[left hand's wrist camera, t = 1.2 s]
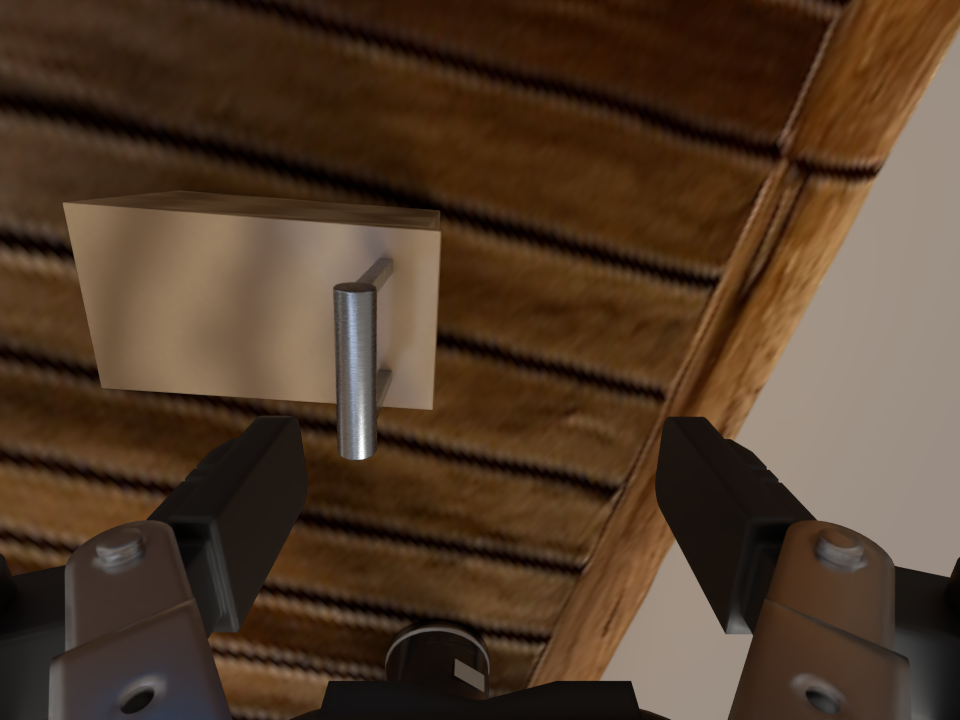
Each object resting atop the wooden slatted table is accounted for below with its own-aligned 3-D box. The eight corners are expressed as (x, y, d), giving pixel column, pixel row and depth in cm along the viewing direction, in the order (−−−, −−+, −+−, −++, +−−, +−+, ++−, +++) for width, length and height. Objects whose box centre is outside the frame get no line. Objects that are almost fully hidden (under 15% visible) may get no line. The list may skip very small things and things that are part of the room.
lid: (441, 228, 25) (425, 259, 17) (433, 403, 28) (416, 492, 20) (75, 200, 24) (-108, 219, 17) (112, 381, 27) (-27, 465, 20)
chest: (440, 210, 33) (427, 227, 25) (434, 346, 36) (420, 401, 28) (179, 190, 32) (76, 200, 24) (197, 330, 36) (112, 381, 28)
